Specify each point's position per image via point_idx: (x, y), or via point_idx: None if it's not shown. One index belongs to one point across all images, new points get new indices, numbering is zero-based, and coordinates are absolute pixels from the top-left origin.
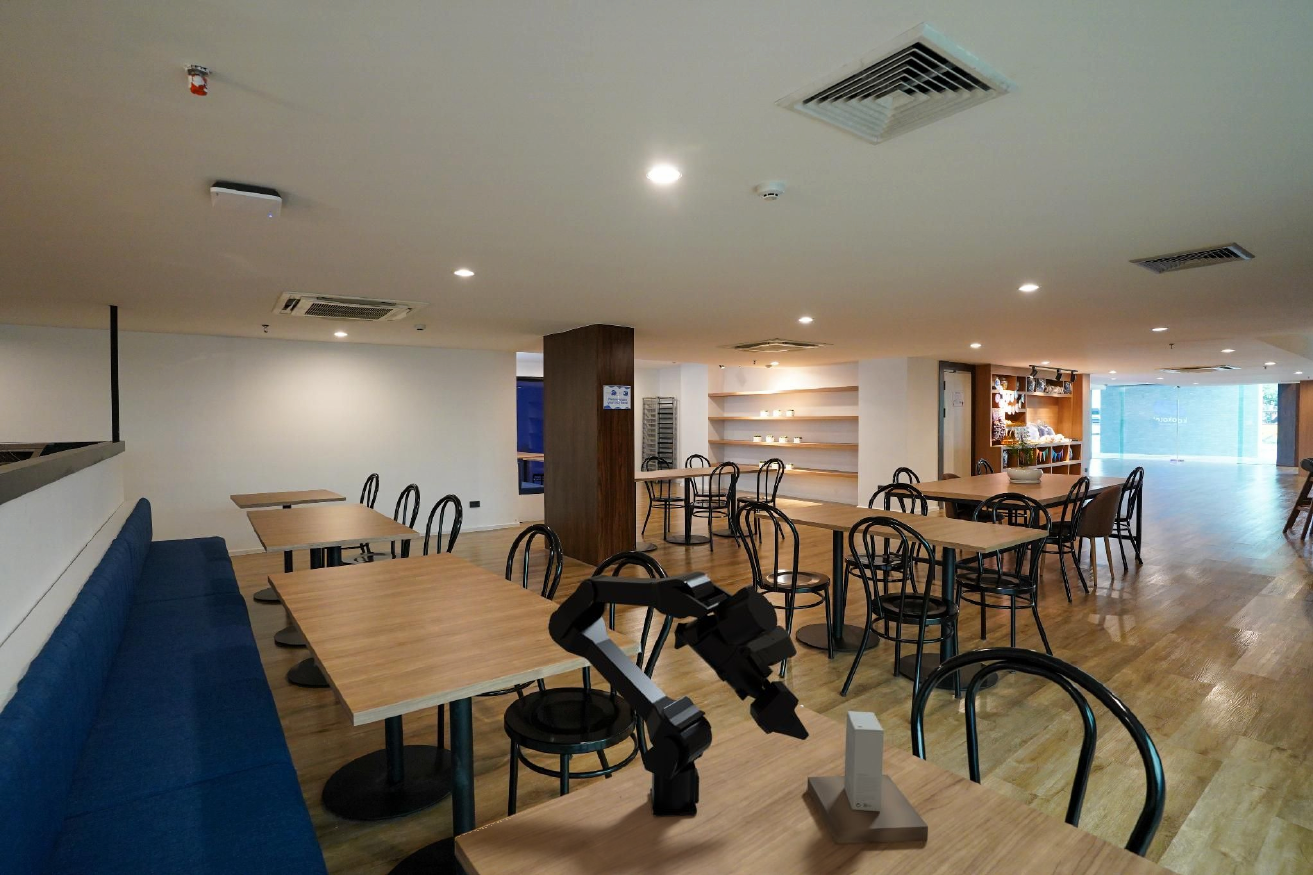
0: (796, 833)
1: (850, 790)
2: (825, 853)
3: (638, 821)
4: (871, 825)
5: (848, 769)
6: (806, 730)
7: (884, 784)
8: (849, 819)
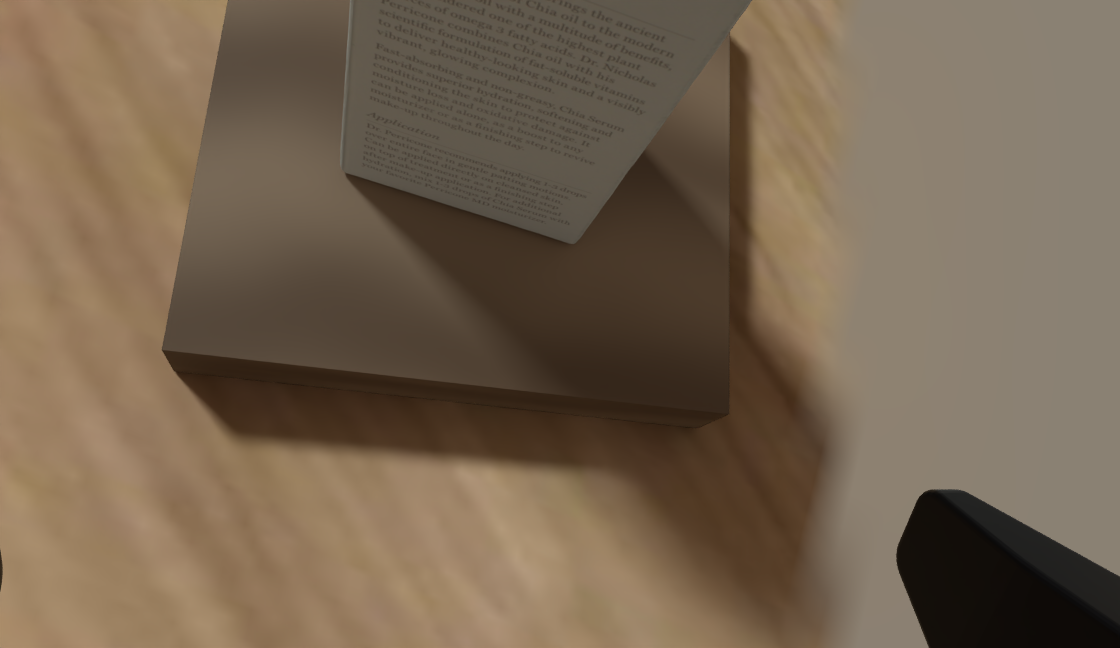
0: (595, 616)
1: (548, 197)
2: (758, 518)
3: None
4: (704, 215)
5: (488, 124)
6: (1048, 537)
7: None
8: (649, 302)
